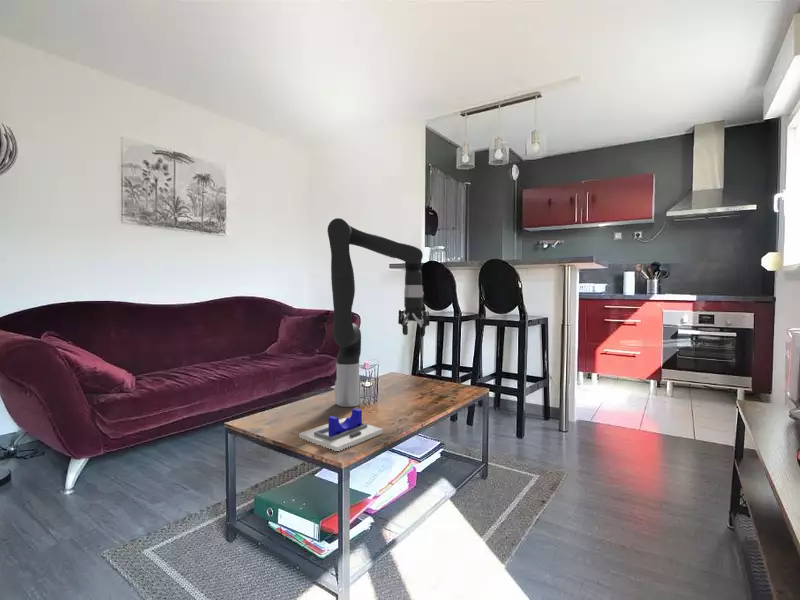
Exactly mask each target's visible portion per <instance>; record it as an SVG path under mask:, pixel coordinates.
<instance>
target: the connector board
mask: <svg viewBox="0 0 800 600" xmlns="http://www.w3.org/2000/svg"><path fill="white" fill-rule="evenodd" d="M346 418H347V417H344V418H340V419H339V423H340V425H341V424H342V423H343V422H344V421H345V420H346ZM382 434H383V428H380V427H377V426H374V425H371V424H367V423H364V422H362V425H361V426H358V427H356V428H353V429H350V430H348V431H345V432H342V433H340V434H337V435H334V436H332V437H331V436H329V424H328V423H326V424H323V425H320V426H317V427H314V428H311V429H308V430H306V431H302V432H299V433H298V438H299V437H300V438H299V439H301V438H302V439H301V440H303V439H305V440H304V441H306V440H307V441H306V442H309V441H310V442H309V443H311V442H312V444H314V443H315V444H314V445H317V446H319V445H321V446H320V447H322V446H323V448H325V447H326V448H325V449H327V448H329V449H328V450H330V449H332V450H331V451H333V450H334V452H335V451H339V452H341V451H344V450H346V449H348V447H349V448H351V447H353V446H356V445H358V444H360V443H363V442H365V441H367V440H369V439H373V438H375V437H377V436H380V435H382ZM350 446H351V447H350ZM345 448H346V449H345ZM343 449H344V450H343ZM340 450H341V451H340Z"/></svg>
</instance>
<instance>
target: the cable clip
mask: <svg viewBox="0 0 800 600" xmlns="http://www.w3.org/2000/svg"><path fill="white" fill-rule="evenodd" d="M362 411H363V410H362V409H359V408H356V407H354V408H352V409H351V415H350V416H349V417H345V418H346V420H345V421H344V422H343V423H342V424H341V425H340V423H339V420H340V419H339V417H338V416H337V417H336V416H333V415H331V416H328V423H327V424H329V436H331V437H332V436H334V435H337V434H340V433H342V432H345V431H348V430H350V429H353V428H356V427H358V426H361V425H362V423H363V412H362Z"/></svg>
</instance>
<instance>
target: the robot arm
mask: <svg viewBox="0 0 800 600" xmlns="http://www.w3.org/2000/svg"><path fill="white" fill-rule="evenodd" d="M327 236H328V242H329V248H330V258H331V259H330V261H331V262H330V274H331V275H330V277H331V278H330V279H331V291H332V303H333V304H332V305H333V339H334V341H335V343H336V344H337V345H338V346H339V350H338V353H337V356H336V380H334V386H335V387H334V397H335V398H334V403H335V405H336V406H338V407H342V408H353V407H354V408H355V407H357V406H359V405H360V358H361V357H360V356H361V354H362V353H361V351H362V331H361V329H360V327H359V326H358V325H357V324H356V323H354V322H353V316H352V315H353V313H352V312H353V311H352V310H353V305H354V304H353V303H354V298H355V293H356V285H355V282H356V281H355V273H354V268H353V263H352V259H351V255H350V253H351V252H350V245H352V246H356V247H361V248H364V249H367V250H369V251H371V252H374V253H377V254H380V255H383V256H385V257H388V258H392V259H397V260H400V261H403V262H404V267H405V268H404V269H405V275H404V290H403V291H404V293H403V294H404V303H403V304H404V308H405V309H399V310H398V321H397V323H398V324H399V325H401V326H402V335H403V336H407V335H408V334H409V331H408V329H409V326H408V325H409V323H410V322H416V323H417V324H418V325H419V337H425V335H426V327H428V326H430V312H429V310H423V307H424V296H423V295H424V294H423V293H424V291H423V274H422V260H423V258H424V257H423V256H424V255H423V251H422V250H421V249H420V248H419V247H417V246H415V245H411V244H407V243H402V242H399V241H397V240H395V239H392V238H388V237H386V236H382V235H378V234H372V233H368V232H366V231H362V230H359V229H357V228H355V227H354V226H352V225H350V224H349V222H348V221H347V220H345V219H343V218H339V217H338V218H334V219H331V221H330V222H329V223H328V226H327Z"/></svg>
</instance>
